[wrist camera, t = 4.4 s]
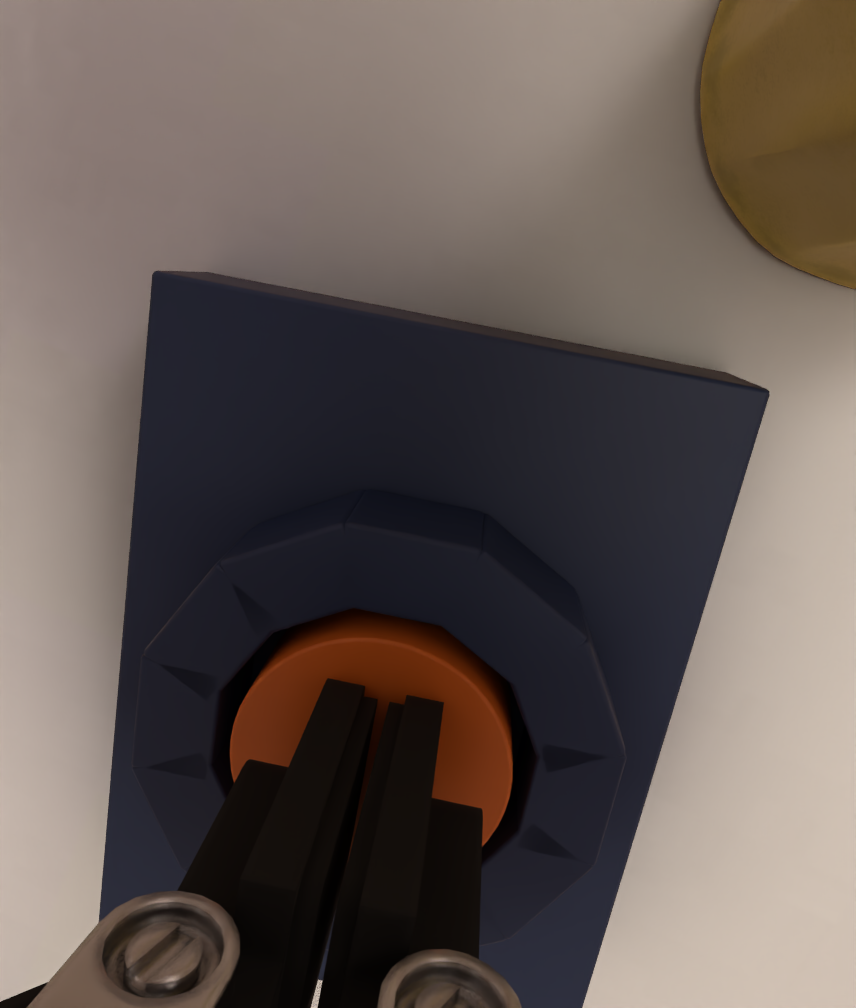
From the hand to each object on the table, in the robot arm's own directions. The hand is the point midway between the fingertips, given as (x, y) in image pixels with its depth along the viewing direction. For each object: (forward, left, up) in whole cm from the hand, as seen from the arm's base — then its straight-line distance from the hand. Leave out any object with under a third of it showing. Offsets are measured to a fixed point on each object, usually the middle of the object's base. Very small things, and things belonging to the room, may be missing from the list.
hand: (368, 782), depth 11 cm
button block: (0, 0, -4) cm, 4 cm away
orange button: (0, 0, -2) cm, 2 cm away
